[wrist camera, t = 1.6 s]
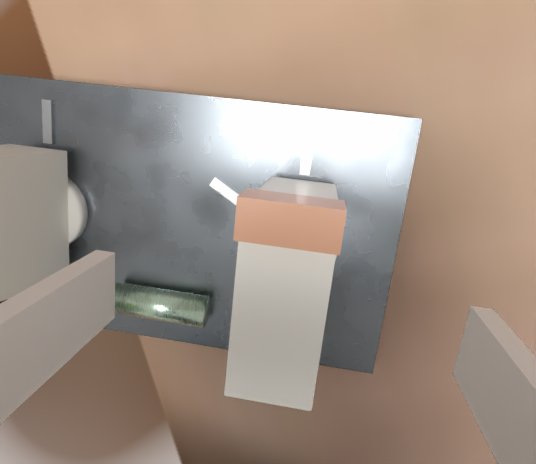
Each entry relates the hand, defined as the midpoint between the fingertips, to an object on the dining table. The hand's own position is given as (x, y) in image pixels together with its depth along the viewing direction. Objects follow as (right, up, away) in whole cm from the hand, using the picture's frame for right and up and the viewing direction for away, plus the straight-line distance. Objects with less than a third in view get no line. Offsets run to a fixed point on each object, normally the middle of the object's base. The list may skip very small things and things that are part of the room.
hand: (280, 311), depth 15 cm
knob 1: (+1, +2, +10) cm, 10 cm away
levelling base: (-6, +4, +13) cm, 15 cm away
